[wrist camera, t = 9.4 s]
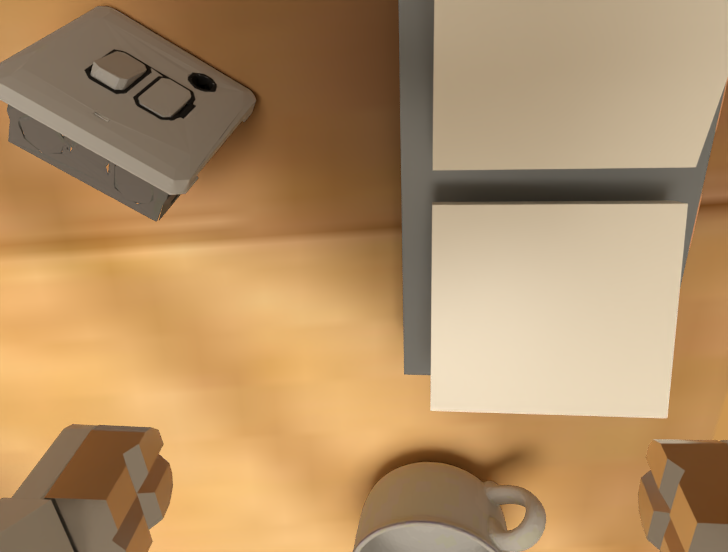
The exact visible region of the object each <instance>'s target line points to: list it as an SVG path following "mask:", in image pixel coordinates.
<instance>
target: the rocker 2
mask: <svg viewBox="0 0 728 552" xmlns="http://www.w3.org/2000/svg"><path fill="white" fill-rule="evenodd" d="M687 209H688V204H687V203H682V202H678V201H510V202H432V282H431V411H453V412H485V413H517V414H548V415H580V416H611V417H643V418H667V416H668V406H669V395H670V385H671V375H672V364H673V354H674V343H675V333H676V323H677V312H678V302H679V292H680V281H681V271H682V261H683V250H684V240H685V230H686V219H687Z"/></svg>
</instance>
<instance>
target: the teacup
mask: <svg viewBox="0 0 728 552" xmlns="http://www.w3.org/2000/svg"><path fill="white" fill-rule="evenodd" d="M502 504H518V505H522V506H524V507H526V513H525V517H524V519H523V521H522V522H521V524H520V525H519V526H518V527H517V528H515V529H513V530H509V531H507V527H506V522H505V518H504V515H503V512H502V509H501V507H500V505H502ZM545 523H546V514H545V510H544V508H543V506H542V504H541V502H540V501H539V500H538V499H537V497H536V496H534V495H533V494H532V493H531V492H529V491H528V490H526V489H524V488H521V487H518V486H511V485H498V484H496V483H495V482H493V481H486V482H482V481H481V480H479V479H478V478H477V477H475V476H474V475H472V474H470V473H469V472H467V471H465V470H463V469H460V468H458V467H455V466H452V465H448V464H445V463H437V462H419V463H412V464H408V465H404V466H401V467H399V468H397V469H394V470H393V471H391V472H389V473H388V474H386V475H385V476H384V477H382V478H381V479H380V480H379V481H378V482H377V483H376V484H375V486H374V487H373V488H372V490H371V491H370V493H369V495H368V497H367V499H366V501H365V504H364V506H363V510H362V513H361V517H360V521H359V525H358V530H357V534H356V539H355V545H354V550H353V552H520V551H524V550H527V549H529V548H531V547H532V546H533V545H534V544H535V543H537V542H538V540H539V539H540V537H541V536H542V534H543V531H544V529H545Z"/></svg>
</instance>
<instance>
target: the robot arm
mask: <svg viewBox="0 0 728 552" xmlns="http://www.w3.org/2000/svg"><path fill="white" fill-rule="evenodd" d="M162 446H163V441H162V438H161V436H160V433H159V430H157V429H154V428H150V427H130V426H110V425H98V426H96V425H78V424H72V425H70V426H68V427H66V428H65V429H63V430H62V432H61V433H60V434H59V436H58V437H57V438H56V440H55V441H54V442H53V444H52V445H51V446H50V448H49V449H48V450H47V452H46V453H45V454H44V456H43V457H42V458H41V459H40V461H39V462H38V463H37V465H36V466H35V467H34V469H33V470H32V471H31V473H30V474H29V475H28V477H27V478H26V479H25V481H24V482H23V483H22V485H21V486H20V487H19V489H18V490H17V491H16V492H15V494H14V495H13V496H12V498H2V499H0V552H148V550H149V548H150V546H151V544H152V542H153V541H152V538H151V535H150V531H149V529H150V528H152V527H153V526H154V525H156V524H157V523H158V522H159V521H161V520H162V519H163V518H164V515H165V513H166V511H167V509H168V506H169V504H170V499H171V493H172V488H173V481H172V471H171V468H170V464H169V463H168V462H167V461H166V460H165V459H164V458H163V457H162V456H160V455H159V452H160V450H161V448H162ZM646 460H647V462H648V465H649V467H650V469H651V470H650V471H649V472H648V473H646V474H645V475H644V476H643V477H641V480H640V485H639V491H638V504H639V514H640V519H641V523H642V527H643V529H644V532H645V535H646V538H647V540H649V541H650V542H651V543H652V544H653V545H654V546H655V547H657V548H658V549H659V550H660V552H728V440H721V441H717V440H657V439H653V440H652V442H651V443H650V444H649V446H648V450H647V454H646Z"/></svg>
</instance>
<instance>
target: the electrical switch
mask: <svg viewBox="0 0 728 552" xmlns="http://www.w3.org/2000/svg"><path fill="white" fill-rule="evenodd" d="M0 100H2V101H3V102H5V103H7V104H8V108H7V112H8V115H9V119H10V126H9V139H8V141H9V142H11V143H13V144H14V145H16V146H18V147H20V148H22V149H24V150H25V151H27V152H29V153H31V154H33V155H35V156H36V157H38V158H40V159H42V160H44V161H46V162H47V163H49V164H51V165H53V166H55V167H57V168H59V169H60V170H62V171H64V172H66V173H68V174H70V175H71V176H73V177H75V178H77V179H79V180H81V181H82V182H84V183H86V184H88V185H90V186H92V187H93V188H95V189H97V190H99V191H101V192H103V193H104V194H106V195H108V196H110V197H112V198H114V199H115V200H117V201H119V202H121V203H123V204H125V205H126V206H128V207H130V208H132V209H134V210H136V211H137V212H139V213H141V214H143V215H145V216H147V217H149V218H150V219H152V220H154V221H157V220H158V217H159V214H160V212H161V214H160V218H159V220H160V219H161V218H162V216H163V215H164V214H165V213H166V212H167V210H168V209H169V208H170V207H171V205H172V204H173V203H174V202H175V201H176V199H177V198H178V197H179V196H180V195H181V194H186V193H187V191H188V190H189V189H190V188H191V187H192V185H193V184H194V183H195V182H196V180H197V179H198V176H197V175H198V173H199V172H200V171H201V170H202V168H203V167H204V166H205V165H206V163H207V162H208V161H209V160H210V159H211V157H212V156H213V155H214V154H215V153H216V151H217V150H218V149H219V148H220V147H221V145H222V144H223V143H224V142H225V141H226V139H227V138H228V137H229V136H230V135H231V133H232V132H233V131H234V130H235V129H236V127H237V126H238V125H239V124H240V123H241V121H243V122H245V121H246V120H247V118H248V117H249V116H250V115H251V114H252V111H253V108H254V105H255V102H256V98H255V95H254V94H253V93H252V91H251V90H249V89H248V88H246V87H244V86H243V85H241V84H239V83H237V82H236V81H234V80H232V79H231V78H229V77H227V76H226V75H224V74H222V73H221V72H219V71H217V70H216V69H214V68H212V67H211V66H209V65H207V64H206V63H204V62H202V61H201V60H199V59H197V58H196V57H194V56H192V55H191V54H189V53H187V52H186V51H184V50H182V49H181V48H179V47H177V46H176V45H174V44H172V43H171V42H169V41H167V40H166V39H164V38H162V37H161V36H159V35H157V34H155V33H154V32H152V31H150V30H149V29H147V28H145V27H144V26H142V25H140V24H139V23H137V22H135V21H134V20H132V19H130V18H129V17H127V16H125V15H124V14H122V13H120V12H119V11H117V10H115V9H113V8H111V7H105V6H97V7H95V8H94V9H92V10H91V11H89V12H87V13H86V14H84V15H82V16H80V17H79V18H77V19H75V20H74V21H72V22H70V23H68V24H67V25H65V26H63V27H61V28H60V29H58V30H56V31H55V32H53V33H51V34H49V35H48V36H46V37H44V38H42V39H41V40H39V41H37V42H35V43H34V44H32V45H30V46H29V47H27V48H25V49H23V50H22V51H20V52H18V53H16V54H15V55H13V56H11V57H10V58H8V59H6V60H4V61H3V62H1V63H0ZM23 132H24V134H23ZM62 135H63V136H62ZM71 147H72V150H71V152H70V148H71ZM39 150H40V151H41V152H42V153H41V152H40V151H39ZM62 150H63V151H62ZM108 164H109V171H108V173H107V169H106V166H107V165H108ZM116 165H117V166H116ZM136 203H139V204H136ZM162 206H163V207H162ZM161 209H162V210H161Z"/></svg>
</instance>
